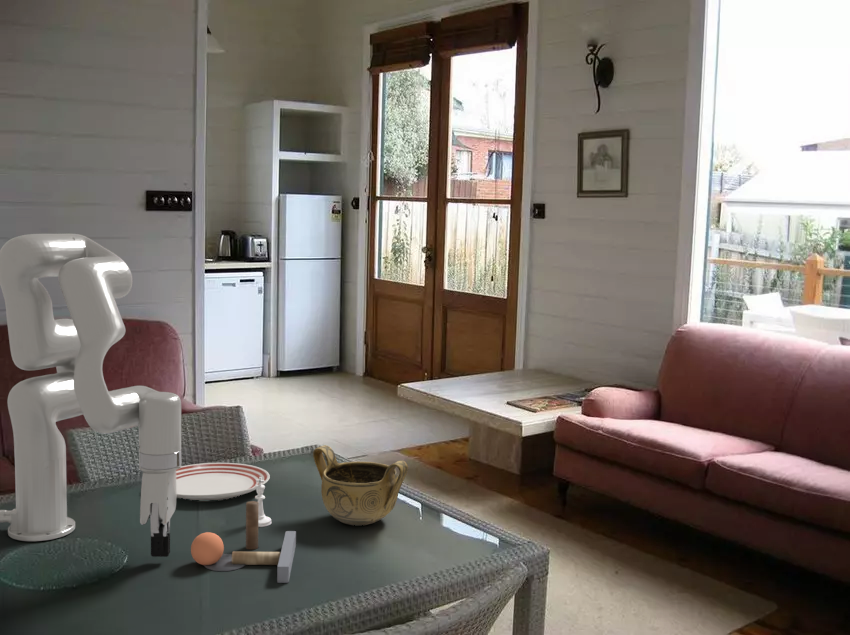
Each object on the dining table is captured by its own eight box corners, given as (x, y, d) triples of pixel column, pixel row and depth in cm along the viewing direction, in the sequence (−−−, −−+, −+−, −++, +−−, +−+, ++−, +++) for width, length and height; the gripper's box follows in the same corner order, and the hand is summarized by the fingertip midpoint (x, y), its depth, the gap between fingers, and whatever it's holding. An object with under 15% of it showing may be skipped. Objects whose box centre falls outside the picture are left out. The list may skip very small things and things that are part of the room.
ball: (225, 550, 170) (211, 576, 171) (231, 535, 176) (218, 560, 177) (195, 536, 169) (182, 562, 171) (202, 521, 175) (189, 547, 176)
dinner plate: (124, 492, 215) (124, 478, 214) (214, 466, 237) (214, 454, 237) (206, 517, 199) (206, 502, 199) (293, 488, 222) (293, 474, 221)
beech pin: (231, 556, 173) (280, 556, 173) (233, 548, 175) (281, 549, 175) (231, 567, 173) (280, 567, 174) (233, 559, 176) (281, 559, 176)
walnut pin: (245, 549, 181) (245, 505, 180) (246, 545, 184) (246, 501, 183) (257, 549, 182) (257, 505, 180) (258, 545, 184) (259, 501, 183)
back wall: (277, 582, 166) (277, 566, 166) (285, 545, 184) (285, 531, 184) (288, 582, 166) (288, 566, 166) (295, 545, 184) (295, 531, 184)
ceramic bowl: (293, 522, 198) (294, 453, 196) (337, 500, 213) (339, 437, 211) (383, 543, 187) (385, 470, 185) (423, 519, 202) (425, 452, 200)
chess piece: (266, 528, 194) (267, 481, 192) (244, 525, 195) (244, 479, 193) (275, 520, 198) (275, 475, 197) (253, 518, 199) (253, 472, 198)
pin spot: (200, 571, 170) (200, 570, 170) (207, 554, 178) (207, 553, 178) (244, 571, 171) (244, 570, 171) (249, 554, 179) (249, 553, 179)
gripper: (148, 448, 178) (149, 540, 181) (129, 471, 164) (130, 570, 166) (188, 449, 179) (188, 540, 181) (172, 471, 164) (172, 571, 166)
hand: (160, 554), depth 173 cm, fingers closed
